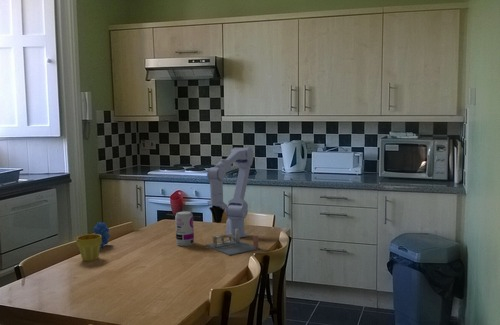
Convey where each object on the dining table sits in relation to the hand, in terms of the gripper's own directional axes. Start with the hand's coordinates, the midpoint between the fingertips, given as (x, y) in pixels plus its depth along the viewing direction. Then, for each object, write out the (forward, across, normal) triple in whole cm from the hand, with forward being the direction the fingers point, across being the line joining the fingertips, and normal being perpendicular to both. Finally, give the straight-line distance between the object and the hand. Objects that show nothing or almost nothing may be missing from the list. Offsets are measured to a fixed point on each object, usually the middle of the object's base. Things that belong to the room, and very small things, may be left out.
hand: (217, 222), depth 240 cm
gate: (+9, +6, 0) cm, 11 cm away
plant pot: (+11, -16, -55) cm, 58 cm away
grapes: (+11, -32, -44) cm, 55 cm away
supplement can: (+11, -10, -12) cm, 19 cm away
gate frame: (+10, +9, +2) cm, 14 cm away
